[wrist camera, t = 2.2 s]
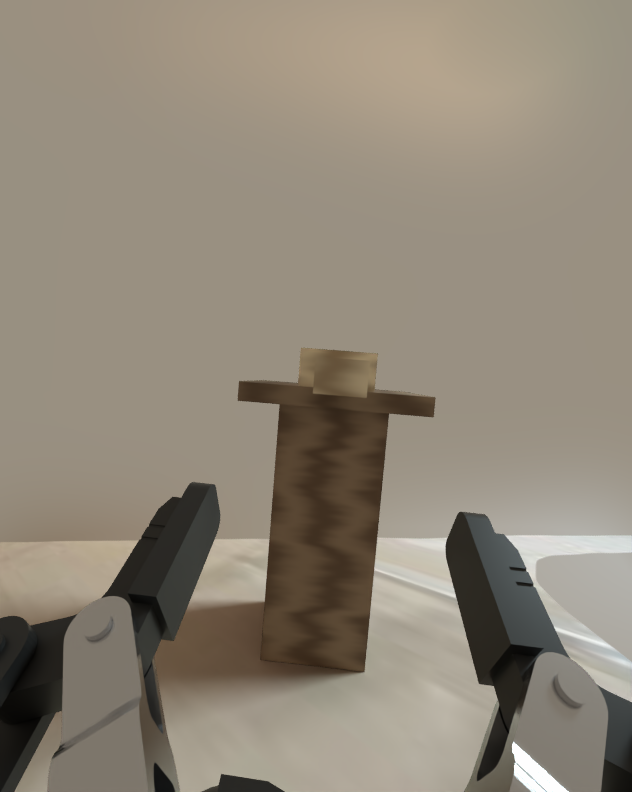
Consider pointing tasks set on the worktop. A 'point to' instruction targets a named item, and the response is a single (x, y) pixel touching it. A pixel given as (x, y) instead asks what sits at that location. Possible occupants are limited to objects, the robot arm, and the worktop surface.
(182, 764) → the worktop surface
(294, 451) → the wooden t-shaped post
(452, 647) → the worktop surface
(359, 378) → the beige stepped hammer block
